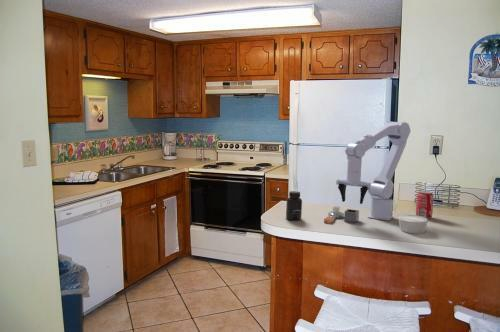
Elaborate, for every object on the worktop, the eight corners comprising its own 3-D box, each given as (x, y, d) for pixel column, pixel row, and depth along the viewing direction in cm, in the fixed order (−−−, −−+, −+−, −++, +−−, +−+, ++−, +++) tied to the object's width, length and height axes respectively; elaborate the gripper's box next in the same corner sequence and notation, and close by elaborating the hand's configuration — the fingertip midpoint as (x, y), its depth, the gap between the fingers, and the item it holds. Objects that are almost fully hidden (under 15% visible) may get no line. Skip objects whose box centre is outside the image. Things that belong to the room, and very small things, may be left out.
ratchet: (330, 213, 193) (331, 204, 192) (345, 215, 190) (346, 206, 189) (319, 222, 179) (319, 211, 178) (335, 224, 175) (335, 214, 175)
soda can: (429, 215, 193) (431, 190, 191) (434, 219, 186) (436, 193, 184) (413, 215, 194) (415, 189, 192) (418, 219, 187) (420, 192, 185)
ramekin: (400, 234, 164) (401, 221, 163) (394, 226, 175) (395, 213, 174) (430, 235, 163) (431, 222, 162) (422, 227, 173) (423, 215, 173)
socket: (358, 220, 182) (359, 210, 182) (355, 223, 178) (356, 212, 177) (347, 218, 185) (347, 209, 184) (344, 221, 180) (344, 211, 180)
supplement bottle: (296, 221, 178) (297, 194, 177) (282, 219, 182) (283, 192, 181) (304, 218, 184) (305, 192, 182) (291, 215, 188) (292, 189, 186)
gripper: (334, 171, 178) (333, 202, 180) (369, 174, 171) (367, 206, 173) (339, 169, 184) (338, 199, 186) (372, 172, 177) (370, 203, 179)
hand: (352, 202), depth 180 cm, fingers open, 7 cm apart
